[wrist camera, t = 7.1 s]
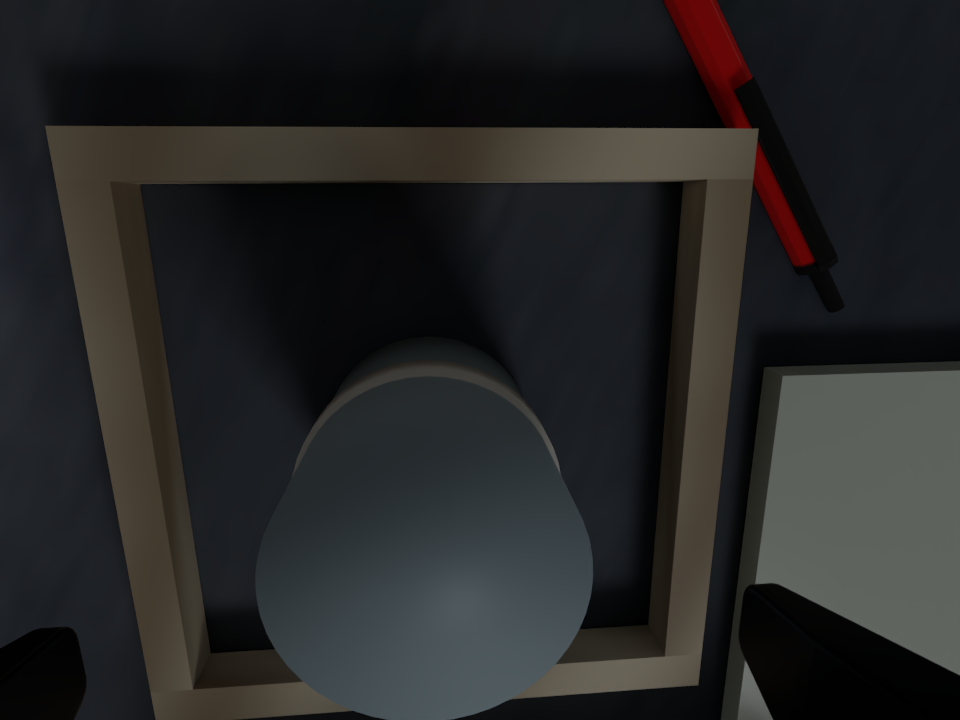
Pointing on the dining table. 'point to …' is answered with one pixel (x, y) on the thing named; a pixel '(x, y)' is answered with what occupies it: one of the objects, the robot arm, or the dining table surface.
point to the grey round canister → (424, 541)
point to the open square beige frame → (393, 159)
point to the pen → (758, 141)
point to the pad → (856, 506)
